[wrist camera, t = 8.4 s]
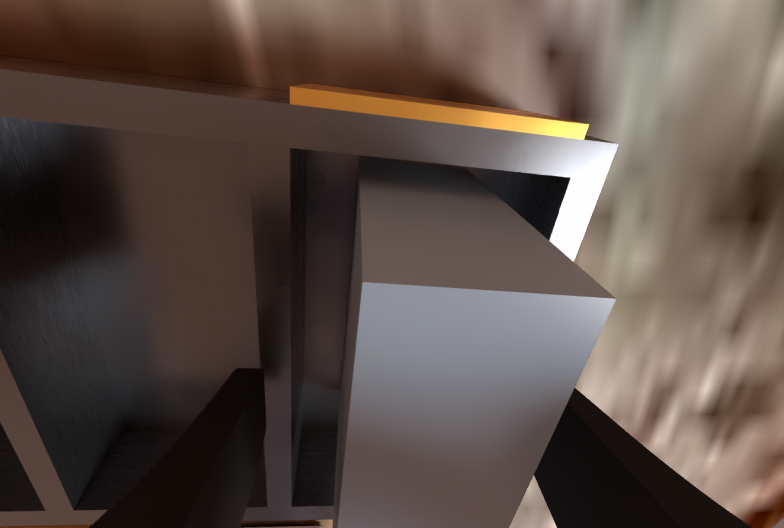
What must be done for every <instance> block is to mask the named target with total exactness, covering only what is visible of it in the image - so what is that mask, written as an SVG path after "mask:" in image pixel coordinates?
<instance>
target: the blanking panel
mask: <svg viewBox="0 0 784 528" xmlns="http://www.w3.org/2000/svg"><path fill="white" fill-rule="evenodd" d="M615 300H616V298H615V297H614V296H612V295H611V294H610V293H609V292H608V291H607V290H605V289H604V288H603V287H602V286H601V285H600V284H599V283H597V282H596V281H595V280H594V279H593V278H592V277H590V276H589V275H588V274H587V273H586V272H585V271H584V270H582V269H581V268H580V267H579V266H578V265H577V264H575V263H574V262H573V261H572V260H571V259H570V258H569V257H567V256H566V255H565V254H564V253H563V252H562V251H560V250H559V249H558V248H557V247H556V246H555V245H554V244H552V243H551V242H550V241H549V240H548V239H547V238H545V237H544V236H543V235H542V234H541V233H540V232H539V231H537V230H536V229H535V228H534V227H533V226H532V225H530V224H529V223H528V222H527V221H526V220H525V219H524V218H522V217H521V216H520V215H519V214H518V213H517V212H515V211H514V210H513V209H512V208H511V207H510V206H509V205H507V204H506V203H505V202H504V201H503V200H502V199H500V198H499V197H498V196H497V195H496V194H495V193H494V192H492V191H491V190H490V189H489V188H488V187H487V186H485V185H484V184H483V183H482V182H481V181H480V180H478V179H477V178H476V177H475V176H474V175H473V174H472V173H470V172H469V171H468V170H461V169H451V168H442V167H433V166H424V165H415V164H406V163H397V162H388V161H379V160H370V159H361V158H359V167H358V179H357V191H356V203H355V215H354V227H353V239H352V251H351V263H350V275H349V287H348V299H347V311H346V324H345V336H344V348H343V360H342V372H341V384H340V398H339V417H338V435H337V454H336V472H335V491H334V509H333V528H509V526H510V524H511V522H512V520H513V518H514V516H515V514H516V511H517V509H518V507H519V505H520V503H521V501H522V499H523V496H524V494H525V492H526V490H527V488H528V486H529V484H530V481H531V479H532V477H533V475H534V473H535V471H536V469H537V467H538V464H539V462H540V460H541V458H542V456H543V454H544V452H545V449H546V447H547V445H548V443H549V441H550V439H551V437H552V435H553V432H554V430H555V428H556V426H557V424H558V422H559V420H560V417H561V415H562V413H563V411H564V409H565V407H566V405H567V403H568V400H569V398H570V396H571V394H572V392H573V390H574V388H575V385H576V383H577V381H578V379H579V377H580V375H581V373H582V371H583V368H584V366H585V364H586V362H587V360H588V358H589V356H590V353H591V351H592V349H593V347H594V345H595V343H596V341H597V339H598V336H599V334H600V332H601V330H602V328H603V326H604V324H605V321H606V319H607V317H608V315H609V313H610V311H611V309H612V307H613V304H614V302H615Z"/></svg>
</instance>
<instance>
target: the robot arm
mask: <svg viewBox="0 0 784 528" xmlns="http://www.w3.org/2000/svg"><path fill="white" fill-rule="evenodd" d="M265 432H266V406H265V385H264V369H261V368H237V369H236V370H234V371H233V372H232V374H231V375H230V376H229V377H228V379H227V380H226V381H225V383H224V384H223V385H222V386H221V388H220V389H219V390H218V391H217V393H216V394H215V395H214V396H213V398H212V399H211V400H210V401H209V402H208V404H207V405H206V406H205V407H204V408H203V409H202V411H201V412H200V413H199V414H198V415H197V417H196V418H195V419H194V420H193V421H192V422H191V423H190V425H189V426H188V427H187V428H186V429H185V430H184V431H183V432H182V434H181V435H180V436H179V437H178V438H177V439H176V440H175V441H174V443H173V444H172V445H171V446H170V447H169V448H168V449H167V450H166V451H165V452H164V453H163V454H162V456H161V457H160V458H159V459H158V460H157V461H156V462H155V463H154V464H153V465H152V466H151V467H150V468H149V469H148V470H147V471H146V472H145V473H144V474H143V475H142V476H141V477H140V478H139V479H138V480H137V481H136V482H135V483H134V485H133V486H132V487H131V488H130V489H129V490H128V491H127V492H126V493H125V494H124V495H123V496H121V497H120V498H119V499H118V500H117V501H116V502H115V503H114V504H113V505H112V506H111V507H110V508H109V509H108V510H107V511H106V512H105V513H104V514H103V515H102V516H101V517H100V518H99V519H98V520H97V521H95V522H94V523H93V524H92V525H91V526H90V527H89V528H240V526H241V523H242V520H243V517H244V513H245V510H246V507H247V504H248V501H249V497H250V494H251V491H252V487H253V484H254V481H255V478H256V474H257V471H258V467H259V462H260V457H261V452H262V447H263V442H264V437H265ZM534 476H535V478H536V480H537V483H538V485H539V487H540V490H541V492H542V494H543V497H544V499H545V501H546V503H547V506H548V508H549V510H550V512H551V515H552V517H553V519H554V521H555V524H556V526H557V528H752V527H750V526H749V525H747V524H746V523H744V522H743V521H742V520H740V519H739V518H737V517H736V516H735V515H733V514H732V513H730V512H729V511H727V510H726V509H725V508H723V507H722V506H720V505H719V504H718V503H716V502H715V501H713V500H712V499H711V498H709V497H708V496H707V495H705V494H704V493H703V492H701V491H700V490H699V489H697V488H696V487H695V486H693V485H692V484H691V483H690V482H688V481H687V480H686V479H684V478H683V477H682V476H681V475H679V474H678V473H677V472H675V471H674V470H673V469H672V468H670V467H669V466H668V465H666V464H665V463H664V462H663V461H661V460H660V459H659V458H658V457H656V456H655V455H654V454H653V453H652V452H650V451H649V450H648V449H647V448H645V447H644V446H643V445H642V444H641V443H639V442H638V441H637V440H636V439H635V438H633V437H632V436H631V435H630V434H629V433H627V432H626V431H625V430H624V429H623V428H621V427H620V426H619V425H618V424H617V423H616V422H614V421H613V420H612V419H611V418H610V417H609V416H607V415H606V414H605V413H604V412H603V411H602V410H600V409H599V408H598V407H597V406H596V405H594V404H593V403H592V402H591V401H590V400H589V399H587V398H586V397H585V396H584V395H583V394H582V393H580V392H579V391H578V390H577V389H575V388H574V390H573V392H572V394H571V396H570V398H569V400H568V403H567V405H566V407H565V409H564V411H563V413H562V415H561V417H560V420H559V422H558V424H557V426H556V428H555V430H554V432H553V435H552V437H551V439H550V441H549V443H548V445H547V447H546V449H545V452H544V454H543V456H542V458H541V460H540V462H539V464H538V467H537V469H536V471H535V473H534ZM242 528H323V527H321V526H285V527H242Z"/></svg>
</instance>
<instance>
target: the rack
mask: <svg viewBox="0 0 784 528" xmlns="http://www.w3.org/2000/svg"><path fill="white" fill-rule="evenodd" d="M588 126H589V125H588V124H584V123H579V122H575V121H570V120H565V119H561V118H556V117H552V116H547V115H542V114H538V113H533V112H529V111H521V110H513V109H505V108H498V107H490V106H482V105H475V104H467V103H459V102H451V101H444V100H436V99H428V98H420V97H413V96H405V95H397V94H389V93H382V92H374V91H366V90H359V89H351V88H343V87H335V86H328V85H320V84H312V83H306V84H301V85H295V86H290V91H282V90H274V89H266V88H258V87H250V86H242V85H234V84H226V83H218V82H210V81H202V80H194V79H186V78H178V77H170V76H162V75H154V74H146V73H138V72H130V71H122V70H114V69H106V68H98V67H90V66H83V65H75V64H67V63H59V62H51V61H43V60H35V59H27V58H19V57H11V56H3V55H0V526H46V525H92V524H93V523H94V522H95V521H97V520H98V519H99V518H100V517H101V516H102V515H103V514H104V513H105V512H106V511H107V510H108V509H109V508H110V507H111V506H112V505H113V504H114V503H115V502H116V501H117V500H118V499H119V498H120V497H121V496H123V495H124V494H125V493H126V492H127V491H128V490H129V489H130V488H131V487H132V486H133V485H134V483H135V482H136V481H137V480H138V479H139V478H140V477H141V476H142V475H143V474H144V473H145V472H146V471H147V470H148V469H149V468H150V467H151V466H152V465H153V464H154V463H155V462H156V461H157V460H158V459H159V458H160V457H161V456H162V454H163V453H164V452H165V451H166V450H167V449H168V448H169V447H170V446H171V445H172V444H173V443H174V441H175V440H176V439H177V438H178V437H179V436H180V435H181V434H182V432H183V431H184V430H185V429H186V428H187V427H188V426H189V425H190V423H191V422H192V421H193V420H194V419H195V418H196V417H197V415H198V414H199V413H200V412H201V411H202V409H203V408H204V407H205V406H206V405H207V404H208V402H209V401H210V400H211V399H212V398H213V396H214V395H215V394H216V393H217V391H218V390H219V389H220V388H221V386H222V385H223V384H224V383H225V381H226V380H227V379H228V377H229V376H230V375H231V374H232V372H233V371H234V370H236V369H237V368H261V369H264V385H265V406H266V432H265V437H264V442H263V447H262V452H261V457H260V462H259V467H258V471H257V474H256V478H255V481H254V484H253V487H252V491H251V494H250V497H249V501H248V504H247V507H246V510H245V513H244V517H243V520H242V521H278V520H324V519H333V509H334V491H335V472H336V454H337V435H338V417H339V398H340V384H341V372H342V360H343V348H344V336H345V324H346V311H347V299H348V287H349V275H350V263H351V251H352V239H353V227H354V215H355V203H356V191H357V179H358V167H359V158H361V159H370V160H379V161H388V162H397V163H406V164H415V165H424V166H433V167H442V168H451V169H461V170H468V171H469V172H470V173H472V174H473V175H474V176H475V177H476V178H477V179H478V180H480V181H481V182H482V183H483V184H484V185H485V186H487V187H488V188H489V189H490V190H491V191H492V192H494V193H495V194H496V195H497V196H498V197H499V198H500V199H502V200H503V201H504V202H505V203H506V204H507V205H509V206H510V207H511V208H512V209H513V210H514V211H515V212H517V213H518V214H519V215H520V216H521V217H522V218H524V219H525V220H526V221H527V222H528V223H529V224H530V225H532V226H533V227H534V228H535V229H536V230H537V231H539V232H540V233H541V234H542V235H543V236H544V237H545V238H547V239H548V240H549V241H550V242H551V243H552V244H554V245H555V246H556V247H557V248H558V249H559V250H560V251H562V252H563V253H564V254H565V255H566V256H567V257H569V258H570V259H571V260H572V261H573V262H574V259H575V257H576V254H577V251H578V249H579V246H580V243H581V241H582V238H583V236H584V233H585V230H586V228H587V225H588V222H589V220H590V217H591V215H592V212H593V209H594V207H595V204H596V202H597V199H598V196H599V194H600V191H601V188H602V186H603V183H604V181H605V178H606V175H607V173H608V170H609V168H610V165H611V162H612V160H613V157H614V154H615V152H616V149H617V147H618V144H617V143H613V142H609V141H606V140H602V139H598V138H594V137H591V136H587V135H586V132H587V129H588Z"/></svg>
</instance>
